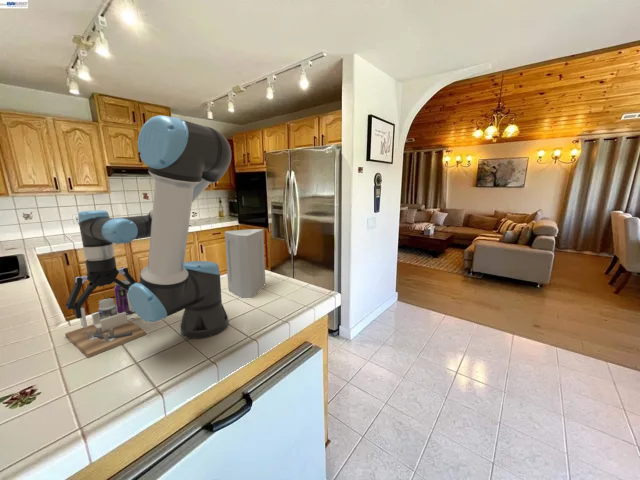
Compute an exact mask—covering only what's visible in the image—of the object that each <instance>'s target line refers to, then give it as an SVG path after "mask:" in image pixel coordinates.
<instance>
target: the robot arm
mask: <svg viewBox="0 0 640 480" xmlns="http://www.w3.org/2000/svg"><path fill="white" fill-rule="evenodd" d="M137 138H138V139H137V150H138V151H137V152H138V153H140V154H139V157H140V159H141V161H142V162H143V164H144V165H146V166H148V171H147V172H148V173H149V175H150V176H151V177H152V178H153V179H154V191H153V202H152V203H153V204H152V209H151V210H150V211H149V213H148V214H145V215H134V216H133V215H132V216H124V217H123V216H122V217H110V214H109V212H108V211H107V210H101V209H100V210H99V209H97V210H94V209H93V210H82V211H79V212H78V214H77V215H78V226H79V231H80V237H81V243H82V247H83V254H84V259H86V260H85V267H86V272H87V273H86V275H85V276H75V277H74V285H73V287H72V288H71V291H70V294H69V296H68V298H67V301H66V303H65V305H64V307H65V308H66V309H67V310H73V311H74V315H75V316H74V317H75V318H76V319H78V320H80V326H81V328H83V327H84V328H86V327H87V326H88V323H87V316H86V310H85V307H83V305H84V304H85V303H86V301H87V300H88V298H89V297H90V296H91V294H92V293H93V292H94V290H96V289H97V287H98V288H99V287H100V288H101V287H104V286H107V285H109V286H110V285H112V284H113V283H114V284H115V283H116V284H118V285H119V286H121V287H122V288H124V289H126V290H127V291H128V293H127V298H128V306H129V310H130V311H131V312H133V313H135V314H136V315H137V316H138V317H139V318H140V319H141V320H143V321H145V322H147V323H155V322H159V321H161V320H163V319H164V320H165V319H166V318H168V317H170V316H172V315H174V314H176V313H178V312H180V311H183V310H184V311H183V313H182V317H181V318H182V319H181V322H180V325H179V328H180V334H181V335H182V336H183V337H184V338H188V339H203V338H208V337H212V336H214V335H217V334H219V333H221V332H223V331H224V330H225V329H227V328H228V327H229V316H228V314H227V312H226V309H225V306H224V305H223V301H222V287H221V286H222V285H221V273H220V266H219V264H218V263H216V262H213V261H210V260H209V261H208V260H191V261H185V257H186V251H187V250H186V249H187V245H188V243H187V242H188V235H189V228H190V221H191V220H190V219H191V211H192V204H193V202H195V201H196V199H197V198H198V197H199V196H200V195H201V194H202V193H203V192H204V191H205V190H206V188H208V187H209V185H210V184H215V183H217V182H218V181H219V180H220V179H222V177H223V176H224V175H225V174H226V172H227V171H228V170H229V167H230V165H231V163H232V162H231V161H232V149H231V145H230V143H229V141H228V140H227V138H226V136H224V135H223V134H222V133H221V132H220V131H218V130H217V129H215V128H213V127H210V126H205V125H201V124H198V123H194V122H191V121H188V120H183V119H181V118H179V117H173V116H168V115H161V114H160V115H159V114H158V115H155V116H152V117H150V118H149V119H148V120H147V121H146V122H144V124H143V125H142V126H141V128H140V130H139V134H138V137H137ZM146 238H149V249H148V261H147V266H145V267H144V268H143V269H141V271H140V275H139V276H140V277H139V282H137V281H136V280H135V278H133V276H132V275H131V274H130V272H129V269H128V267H125V266H123V267H121V268H118V269H117V262H116V257H114V255H115V249H114V244H115V245H116V244H117V245H120V244H128V243H131V242H133V241H135V240H141V239H146ZM119 274H120V275H123V277H124V278H125V280H128V281H129V283H130V284H131V285H132V286H130V287H129V286H127V285H126V284H124V283H123V282H121V281H122V280H120V279H118V278H117V277H118V275H119ZM86 281H88V282H89V283H87V285H86V288H85V289H84V291H82V293H81V295H80V296H79V294H80V291H81V290H82V287H83V284H84V283H85V282H86ZM78 296H79V297H78ZM134 311H135V312H134Z"/></svg>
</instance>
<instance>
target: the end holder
mask: <svg viewBox="0 0 640 480" xmlns="http://www.w3.org/2000/svg"><path fill="white" fill-rule="evenodd" d="M116 309H117V306H116ZM127 315H128V314H126V312H123V313H118V311H117V315H113V316H110V317H107V318H104V319H101V320H100V316H99V311H97V312H93V313H91V320H92V324H93V325H94V326H95V327H97V328H99V327H101V328H102V332H105V331H108V330H109V329H113V328H116V327H119V326H122V325H124V324H127V323H128V322H127V320H128V316H127Z"/></svg>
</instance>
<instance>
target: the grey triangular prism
mask: <svg viewBox="0 0 640 480" xmlns="http://www.w3.org/2000/svg"><path fill="white" fill-rule="evenodd" d="M264 237H265V235H264V228H262V229H261V228H252V229H250V228H249V229H240V230H227V231H224V240H225V241H224V243H225V256H226V257H225V258H226V273H227V275H226V276H227V287H228V289H227V291H228V290H229V292H230V293H231V292H232V294H233V293H234V294H233V295H235V296H236V295H237V296H236V297H238V296H239V297H238V298H240V297H241V298H240V299H242V298H252V297H253V296H254V295H255V294H256V293H257V292H258V291H259V290H260V289H261V288H262V287H263V286H264V284H265V285H266V264H265V263H266V262H265V238H264ZM264 287H265V286H264ZM264 287H263V288H264ZM263 288H262V289H263ZM262 289H261V290H262ZM261 290H260V291H261ZM260 291H259V292H260ZM259 292H258V293H259ZM258 293H257V294H258ZM257 294H256V295H257ZM256 295H255V296H256ZM255 296H254V297H255ZM254 297H253V298H254ZM253 298H252V299H253Z"/></svg>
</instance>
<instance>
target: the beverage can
mask: <svg viewBox="0 0 640 480" xmlns="http://www.w3.org/2000/svg"><path fill="white" fill-rule="evenodd" d="M120 281H121V282H123V283H124V284H126V285H127V286H129V287H130V286H132V285H131V284H130V283H129V281H128V280H127V279H122V280H120ZM114 284H115V286H114V287H113V289H114V297H115V302H116V303H115V304H116V307H117V311H118V314H120V313H123V312H126V315H129V314H133V313H135V311H134V312H131V311H130V310H129V306H128V298H127V293H128V291H127V290H126V289H124V288H122V287H121V286H119V285H118V284H116V283H114Z"/></svg>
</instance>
